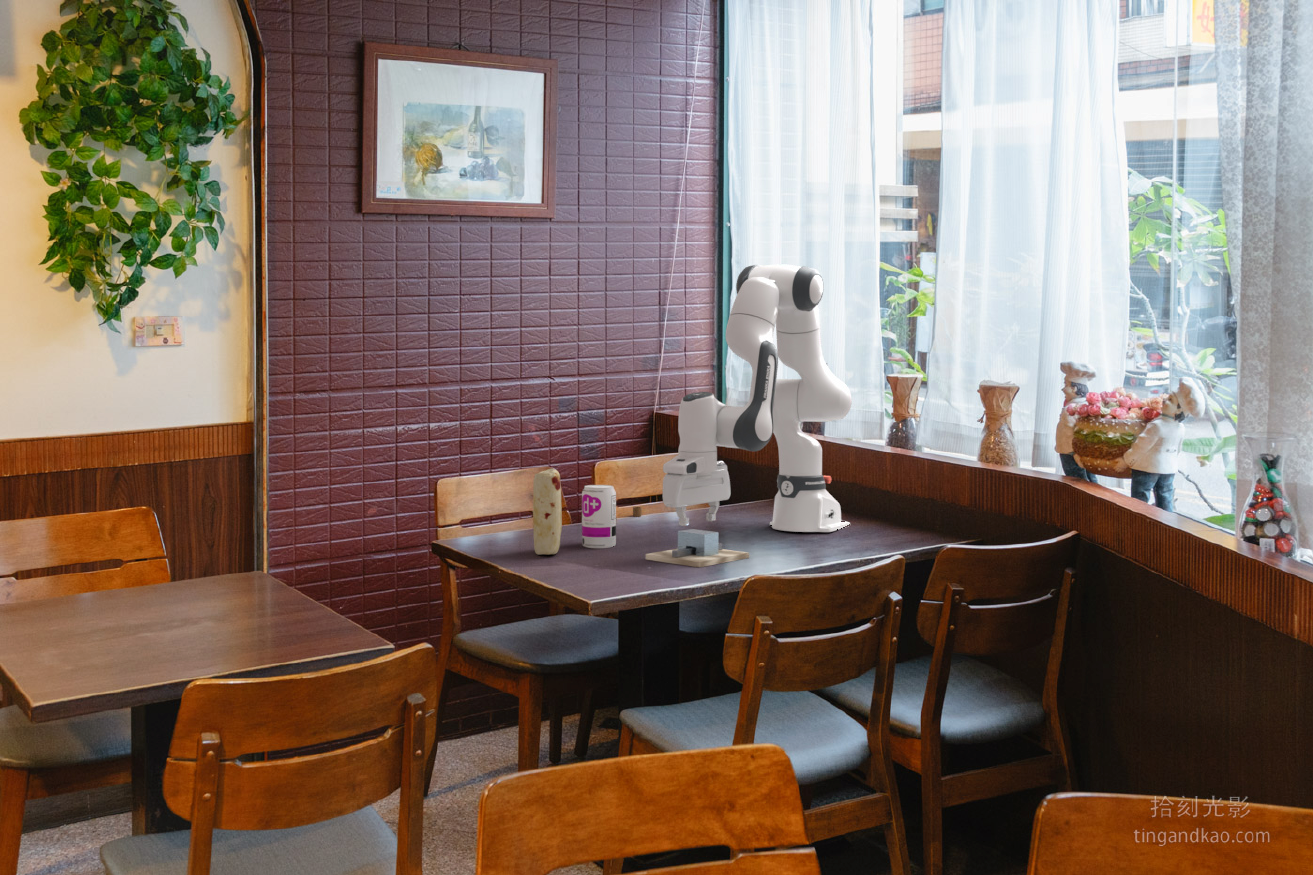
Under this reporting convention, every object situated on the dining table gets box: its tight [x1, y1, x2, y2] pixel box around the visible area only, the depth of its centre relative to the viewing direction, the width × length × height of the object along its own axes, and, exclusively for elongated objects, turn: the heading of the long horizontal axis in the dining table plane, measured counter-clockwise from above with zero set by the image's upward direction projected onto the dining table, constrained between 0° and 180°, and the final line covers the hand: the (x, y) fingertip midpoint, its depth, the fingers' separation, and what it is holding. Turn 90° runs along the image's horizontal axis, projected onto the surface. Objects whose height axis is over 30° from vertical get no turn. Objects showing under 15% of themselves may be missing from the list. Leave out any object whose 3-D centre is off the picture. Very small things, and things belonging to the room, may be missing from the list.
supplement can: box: [581, 484, 617, 549], centre depth 290 cm, size 8×8×15 cm
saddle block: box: [677, 528, 720, 557], centre depth 275 cm, size 5×8×5 cm, turn 48°
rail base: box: [645, 548, 750, 568], centre depth 275 cm, size 18×16×1 cm
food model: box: [532, 468, 563, 556], centre depth 280 cm, size 10×7×20 cm
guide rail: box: [671, 542, 723, 558], centre depth 275 cm, size 16×2×2 cm, turn 138°
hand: (697, 523), depth 275 cm, fingers open, 8 cm apart
